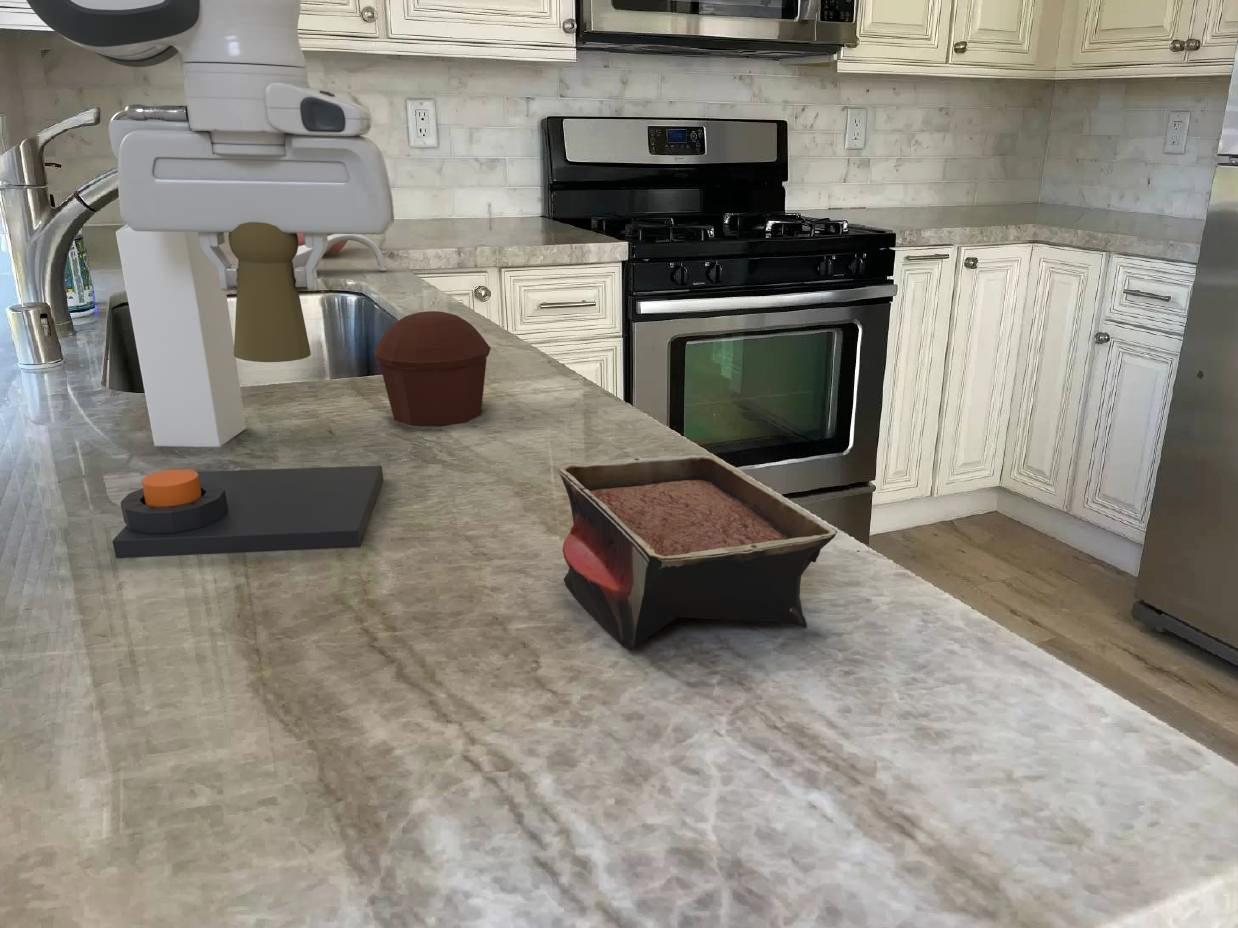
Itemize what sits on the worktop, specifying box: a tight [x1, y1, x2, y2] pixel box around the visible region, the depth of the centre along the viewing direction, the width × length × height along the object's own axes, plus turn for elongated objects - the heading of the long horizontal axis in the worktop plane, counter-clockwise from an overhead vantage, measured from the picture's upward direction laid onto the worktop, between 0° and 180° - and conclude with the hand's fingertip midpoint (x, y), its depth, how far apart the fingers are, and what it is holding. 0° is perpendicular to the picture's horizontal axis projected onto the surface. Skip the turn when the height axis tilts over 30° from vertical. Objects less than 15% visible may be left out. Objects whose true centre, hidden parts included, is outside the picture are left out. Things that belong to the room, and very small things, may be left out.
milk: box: [115, 223, 247, 448], centre depth 90 cm, size 6×6×22 cm
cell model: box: [297, 233, 349, 256], centre depth 210 cm, size 17×20×11 cm
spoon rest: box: [292, 234, 387, 272], centre depth 188 cm, size 24×12×7 cm, turn 111°
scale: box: [111, 465, 384, 559], centre depth 76 cm, size 16×14×3 cm
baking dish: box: [557, 454, 838, 651], centre depth 62 cm, size 14×18×10 cm
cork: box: [227, 222, 312, 363], centre depth 82 cm, size 6×6×11 cm
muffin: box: [372, 310, 492, 427], centre depth 101 cm, size 12×11×10 cm
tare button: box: [141, 468, 202, 507], centre depth 71 cm, size 4×4×2 cm
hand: (270, 289), depth 83 cm, fingers closed on cork, 4 cm apart
